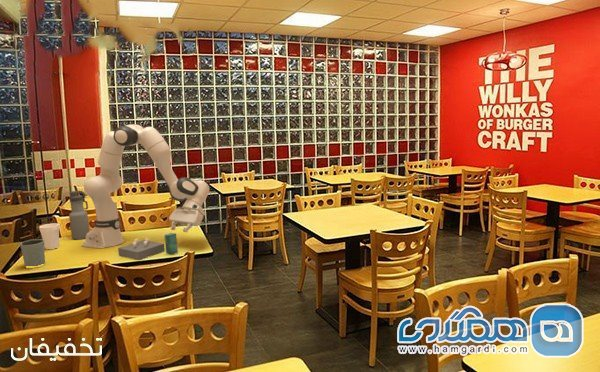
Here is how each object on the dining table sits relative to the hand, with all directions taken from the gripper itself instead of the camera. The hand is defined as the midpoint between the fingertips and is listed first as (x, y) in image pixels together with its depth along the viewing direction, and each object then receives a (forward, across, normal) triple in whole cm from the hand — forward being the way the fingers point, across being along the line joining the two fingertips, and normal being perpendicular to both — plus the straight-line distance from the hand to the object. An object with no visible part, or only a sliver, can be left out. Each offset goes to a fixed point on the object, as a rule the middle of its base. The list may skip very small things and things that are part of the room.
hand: (178, 230), depth 234 cm
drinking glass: (+43, -47, -28) cm, 69 cm away
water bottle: (+14, -75, +1) cm, 76 cm away
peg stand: (+16, -14, -2) cm, 22 cm away
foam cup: (+29, -69, -14) cm, 76 cm away
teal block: (+11, 0, +4) cm, 12 cm away
